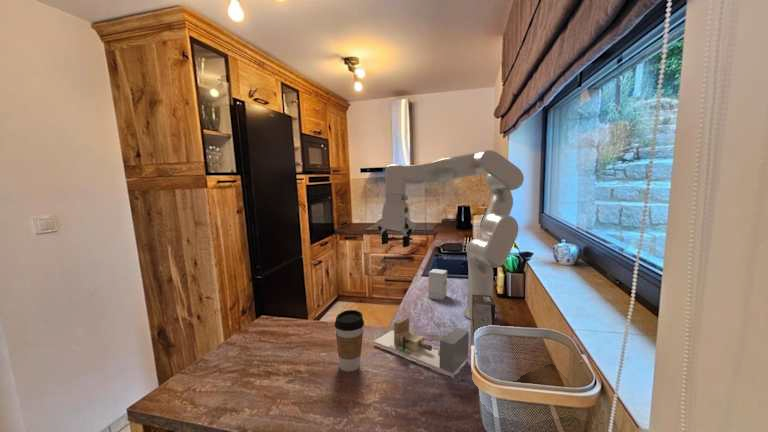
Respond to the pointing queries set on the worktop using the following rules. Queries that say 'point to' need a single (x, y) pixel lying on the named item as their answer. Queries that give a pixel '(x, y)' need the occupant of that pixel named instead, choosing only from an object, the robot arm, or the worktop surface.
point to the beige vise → (435, 351)
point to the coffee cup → (349, 339)
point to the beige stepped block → (408, 336)
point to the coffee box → (482, 312)
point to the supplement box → (437, 284)
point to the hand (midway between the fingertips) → (395, 245)
